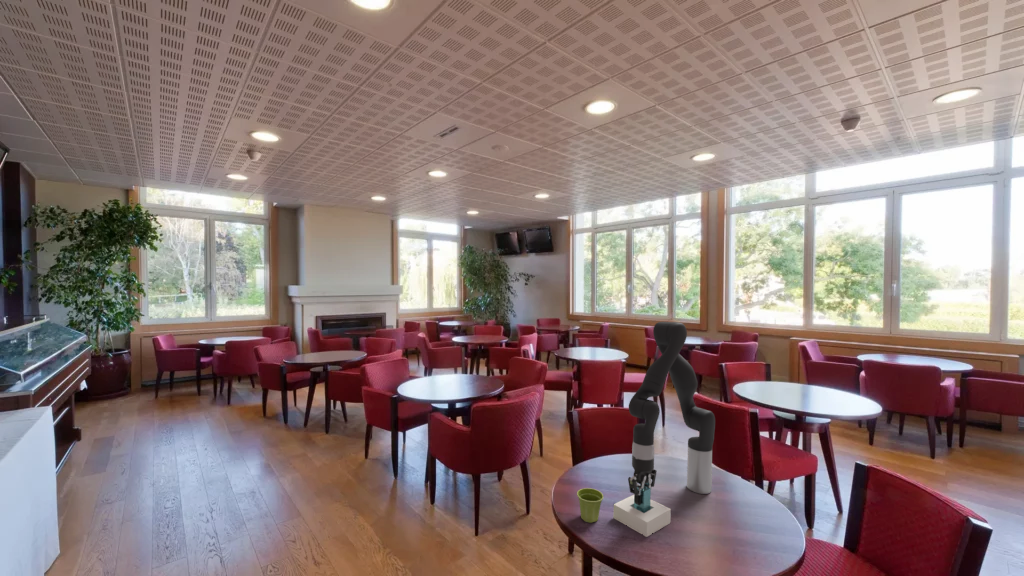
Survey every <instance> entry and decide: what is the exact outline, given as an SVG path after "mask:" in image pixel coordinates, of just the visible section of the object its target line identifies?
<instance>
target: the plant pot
mask: <svg viewBox="0 0 1024 576" xmlns="http://www.w3.org/2000/svg"><path fill="white" fill-rule="evenodd" d="M576 495H577V498H578V501H579V509H580V510H579V512H580V517H581V518H580V519H582V520H583V521H584V522H586V523H589V524H590V523H591V524H592V523H594V522H595V523H596V522H598V520H599V517H600V510H601V504H602V501H603V500H604V494H603V492H602V491H600V490H598V489H596V488H591V487H589V488H588V487H585V488H581V489H578V490H577V492H576Z"/></svg>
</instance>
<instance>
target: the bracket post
mask: <svg viewBox="0 0 1024 576" xmlns="http://www.w3.org/2000/svg"><path fill="white" fill-rule="evenodd" d="M639 485H641V484H639ZM637 490H639V488H638V487H637ZM651 490H652V487H651V488H649V487H646V486H644V488H643V489H642V491H641V505H637V504H635V502H634V508H635V509H637V510H639V511H641V512H643V513H645V512H647V511H649V510H650V499H651V496H652V494H651ZM651 500H652V499H651Z"/></svg>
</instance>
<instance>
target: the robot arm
mask: <svg viewBox="0 0 1024 576" xmlns="http://www.w3.org/2000/svg"><path fill="white" fill-rule="evenodd" d="M687 333H688V331H687V328H686V325H685V324H684V323H682V322H678V321H658V322H656V323H655V324H654V326H653V337H654V342H655V343H656V345H657V347H658V350H659V352H660V354H661V355H660V356H659V357H658V358H657V359H656V360H655V361H654V362H653V363H652V364H650V366H649V367H648V368H647V370H646V372H645V375H644V378H643V381H642V382H641V385H640V387H639V388H638V389H637V391H636V392H635V393H634V394H633V396H632V397H631V399H630V400H629V403H628V411H629V414H630V415H631V416H632V417H635V418H638V419H641V420H644V421H645V422H644V423H636V424H635V425H634V426H633V435H632V436H633V437H632V446H631V448H632V449H631V451H632V453H631V467H632V468H633V471H634V472H633V476H632V477H630V476H629V477H628V478H627V480H628V487H629V492H630V493H631V494H632V495H634V502H635V504H637V505H641V491H642V489H643V488H644V486H646V487H649V488H651V489H652V487H653V488H654V487H655V483H656V477H657V470H656V469H655V466H654V465H655V445H654V444H655V442H654V439H655V437H654V435H655V431H656V430H655V429H656V425H657V422H658V419H659V416H660V414H661V410H660V405H659V404H658V403H657V402H656V401H654V400H651V399H649V398H656V397H660V395H661V393H662V391H663V387H664V386H665V385H664V384H665V382H666V379H667V376H668V374H669V376H670V379H671V382H672V384H673V387H674V389H675V392H676V395H677V398H678V402H679V406H680V409H681V410H680V411H681V414H682V419H683V421H684V423H685V426H686V427H687V428H688V429H692V430H694V431H697V432H699V433H698V434H699V435H698V436H692V437H689V438H688V439H687V463H686V464H687V466H686V468H687V470H686V471H687V473H686V487H687V489H688V490H689V491H691V492H693V493H695V494H700V495H701V494H702V495H707V494H710V493H711V492H712V487H713V486H712V484H713V482H712V481H713V445H714V440H715V430H716V417H715V413H713V411H711V410H707V409H705V408H701V407H698V406H696V403H695V400H694V395H695V393H696V391H697V389H698V385H699V384H698V379H697V375H696V372H695V370H694V367H693V366H692V365H691V364H690V363H689V362H688V360H687V359H685V358H684V357H683V356H682V355H681V354H680V352H681V350H682V348H683V346H684V345H685V343H686V340H687V337H688V334H687ZM640 484H641V485H640ZM637 487H638V488H639V490H637Z"/></svg>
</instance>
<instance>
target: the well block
mask: <svg viewBox="0 0 1024 576" xmlns="http://www.w3.org/2000/svg"><path fill="white" fill-rule="evenodd" d="M671 511H672V509H671V508H670V507H667V506H665V505H663V504H661V503H659V502H658V501H655V500H653V499H650V510H649V511H647V512H645V513H643V512H641V511H639V510H637V509H635V508H634V494H632V495H629V496H628V497H626V498H624V499H622V500H620V501H617V502H616V503H614V504H613V515H612V516H613V519H614V520H616V521H618V522H620V523H621V524H623V525H625V526H626V525H627V527H628V528H630V529H632V530H634V531H636V532H637V533H639V534H641V535H642V534H643V535H642V536H644V537H645V538H648V537H649V536H651V535H653V534H655V532H658V531H659V530H660V529H662V528H664V527H666V526H667V525H669V524H670V523H671V519H672V517H671V516H672V515H671V513H672V512H671ZM652 533H653V534H652Z"/></svg>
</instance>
